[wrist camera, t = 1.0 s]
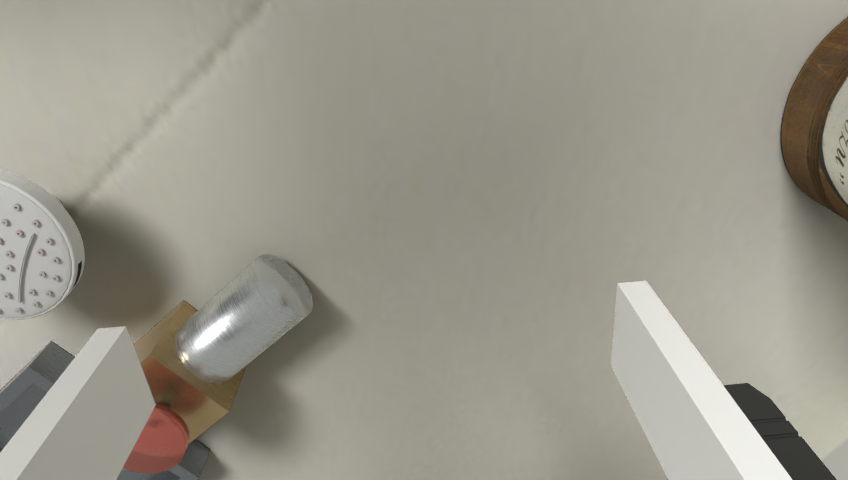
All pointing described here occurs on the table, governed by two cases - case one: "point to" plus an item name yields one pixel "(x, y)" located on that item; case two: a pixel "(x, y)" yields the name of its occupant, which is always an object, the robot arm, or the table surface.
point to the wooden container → (820, 124)
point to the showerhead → (35, 249)
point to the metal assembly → (183, 367)
